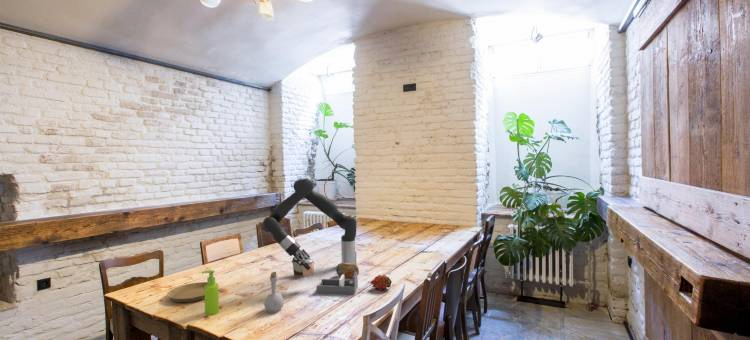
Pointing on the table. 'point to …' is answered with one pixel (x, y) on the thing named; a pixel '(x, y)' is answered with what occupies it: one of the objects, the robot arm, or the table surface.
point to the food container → (297, 269)
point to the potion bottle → (273, 297)
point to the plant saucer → (188, 292)
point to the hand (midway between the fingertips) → (311, 266)
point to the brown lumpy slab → (347, 270)
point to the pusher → (341, 281)
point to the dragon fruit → (381, 282)
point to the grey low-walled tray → (333, 286)
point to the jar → (311, 270)
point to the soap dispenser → (211, 294)
